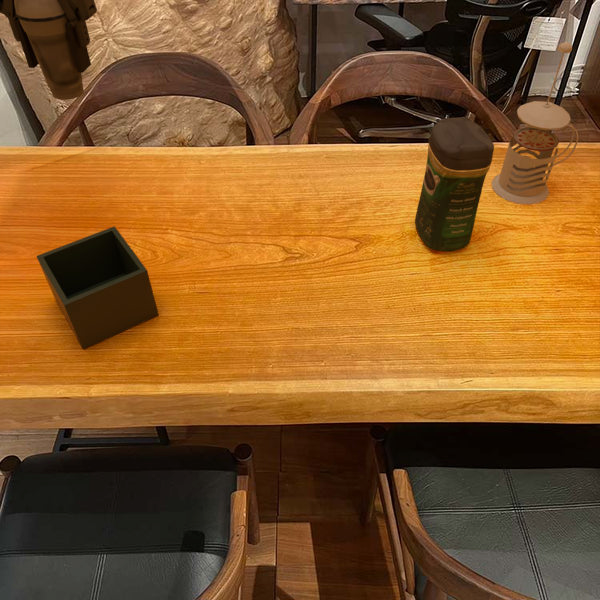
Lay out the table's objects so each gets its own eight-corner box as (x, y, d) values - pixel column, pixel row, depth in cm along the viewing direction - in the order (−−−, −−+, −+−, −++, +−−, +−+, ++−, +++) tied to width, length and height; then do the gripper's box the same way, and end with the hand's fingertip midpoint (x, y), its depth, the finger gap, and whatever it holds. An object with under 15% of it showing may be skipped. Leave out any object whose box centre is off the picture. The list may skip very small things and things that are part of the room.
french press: (484, 172, 105) (522, 29, 87) (548, 170, 106) (599, 28, 88) (500, 205, 98) (544, 57, 80) (568, 203, 99) (627, 56, 81)
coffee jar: (476, 251, 90) (506, 145, 77) (426, 257, 89) (448, 150, 76) (454, 213, 97) (479, 109, 84) (408, 218, 96) (426, 113, 83)
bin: (55, 300, 83) (36, 255, 77) (127, 270, 88) (114, 225, 81) (82, 350, 77) (63, 305, 71) (159, 315, 81) (147, 270, 75)
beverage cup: (85, 105, 84) (43, -52, 69) (35, 104, 84) (-19, -53, 69) (99, 81, 89) (61, -70, 74) (51, 80, 89) (4, -71, 74)
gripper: (96, -134, 68) (135, 60, 85) (-57, -142, 71) (10, 49, 87) (67, -120, 63) (114, 84, 80) (-97, -129, 66) (-18, 71, 82)
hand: (60, 65), depth 83 cm, fingers closed on beverage cup, 7 cm apart
